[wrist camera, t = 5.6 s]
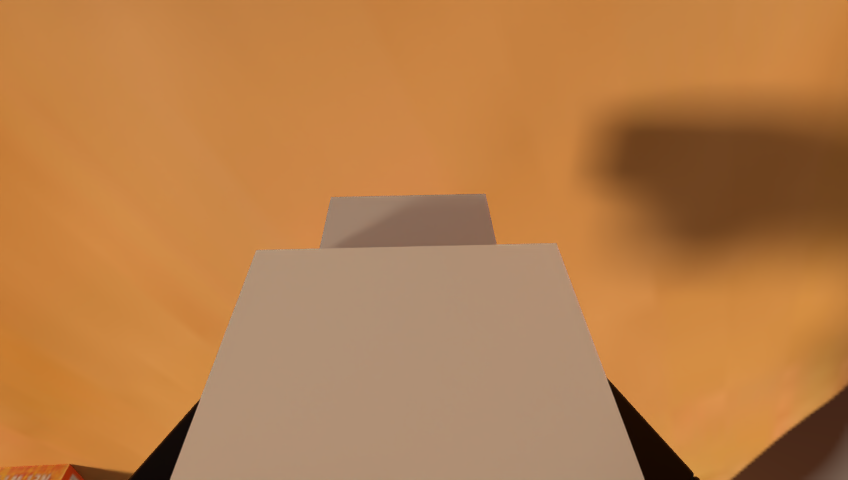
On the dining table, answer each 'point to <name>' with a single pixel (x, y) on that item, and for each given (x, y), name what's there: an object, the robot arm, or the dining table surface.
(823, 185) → the dining table surface
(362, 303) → the cream block
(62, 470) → the pasta box
